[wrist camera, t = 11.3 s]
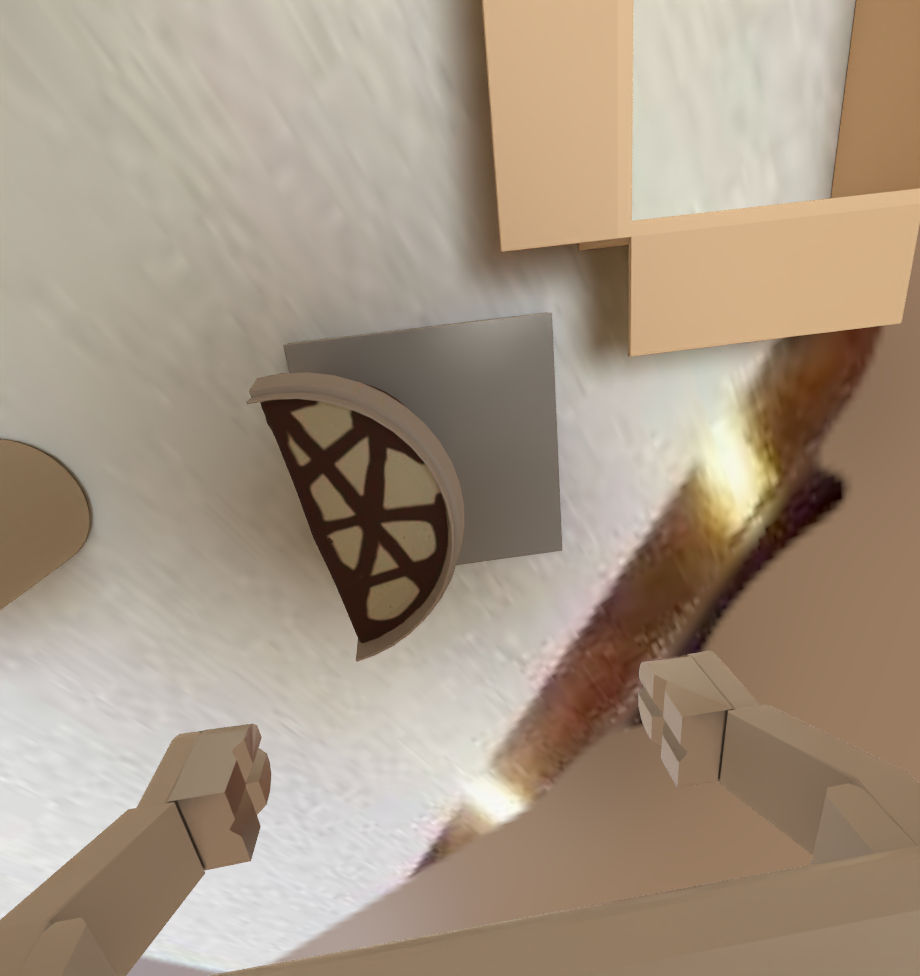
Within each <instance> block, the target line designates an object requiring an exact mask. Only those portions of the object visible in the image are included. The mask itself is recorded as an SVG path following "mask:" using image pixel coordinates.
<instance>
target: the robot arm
mask: <svg viewBox="0 0 920 976" xmlns="http://www.w3.org/2000/svg"><path fill="white" fill-rule="evenodd" d="M639 678H640V680H641V681H642V683H643V685H644V688H643V689H642V690H641V692H640V693H639V710H640V715H641V719H642V722H643V725H644V727H645V730H646V732H647V734H648V736H649V737H650V739H651V741H653V742H655V743H656V744H658V745H659V746H661V747H662V754H661V759H662V761H663V763H664V765H665V766H666V768H667V770H668V771H669V773H670V775H671V777H672V779H673V781H674V782H675V784H676V786H677V787H678V788H679V787H685V786H692V785H700V784H707V783H714V782H720V785H722V786H723V787H724V788H726V789H727V790H728V791H729V792H731V793H732V794H734V795H735V796H736V797H737V798H738V799H740V800H741V801H743V802H744V803H745V804H746V805H748V806H749V807H751V808H752V809H753V810H754V811H756V812H757V813H758V814H759V815H761V816H762V817H763V818H765V819H766V820H767V821H769V822H770V823H771V824H773V825H774V826H775V827H776V828H778V829H779V830H781V831H782V832H783V833H784V834H786V835H787V836H788V837H790V838H791V839H792V840H793V841H795V842H796V843H797V844H799V845H800V846H801V847H803V848H804V849H805V850H807V851H808V852H809V853H811V854H812V860H811V864H810V865H808V866H802V867H797V868H792V869H787V870H781V871H776V872H770V873H764V874H759V875H753V876H748V877H742V878H737V879H732V880H726V881H721V882H715V883H710V884H705V885H699V886H693V887H688V888H683V889H678V890H672V891H667V892H661V893H656V894H651V895H645V896H639V897H634V898H629V899H624V900H618V901H612V902H607V903H602V904H597V905H591V906H585V907H580V908H575V909H570V910H564V911H559V912H553V913H548V914H542V915H538V916H532V917H526V918H521V919H515V920H510V921H505V922H499V923H493V924H488V925H482V926H477V927H471V928H466V929H461V930H455V931H449V932H444V933H438V934H433V935H427V936H422V937H417V938H412V939H405V940H400V941H394V942H389V943H384V944H378V945H372V946H367V947H362V948H356V949H351V950H346V951H340V952H335V953H330V954H324V955H318V956H313V957H307V958H302V959H297V960H291V961H285V962H280V963H274V964H269V965H263V966H258V967H253V968H247V969H242V970H236V971H231V972H225V973H220V974H214V975H209V976H920V783H919V782H918V781H917V780H915V779H914V778H913V777H912V776H911V775H910V774H909V773H908V772H907V771H905V770H903V769H901V768H898V767H897V766H894V765H892V764H890V763H888V762H886V761H884V760H882V759H880V758H878V757H876V756H874V755H872V754H870V753H867V752H865V751H863V750H861V749H859V748H857V747H855V746H853V745H851V744H849V743H846V742H845V741H842V740H840V739H838V738H836V737H834V736H832V735H830V734H828V733H826V732H824V731H822V730H820V729H818V728H816V727H813V726H811V725H809V724H807V723H805V722H803V721H801V720H799V719H797V718H795V717H793V716H791V715H788V714H786V713H784V712H782V711H780V710H778V709H776V708H774V707H771V706H770V705H762V706H761V705H760V704H759V703H758V702H757V701H756V699H755V698H754V697H753V696H752V695H751V694H750V693H749V692H748V690H747V689H746V688H745V687H744V686H743V685H742V684H741V682H740V681H739V680H738V679H737V678H736V677H735V676H734V675H733V673H732V672H731V671H730V670H729V669H728V668H727V667H726V665H725V664H724V663H723V662H722V661H721V660H720V659H719V657H718V656H717V655H716V654H715V653H713V652H711V651H705V652H699V653H694V654H688V655H683V656H677V657H671V658H665V659H659V660H653V661H647V662H642V663H641V666H640V670H639ZM261 738H262V737H261V734H260V732H259V729H258V727H257V725H255V724H247V725H239V726H232V727H224V728H217V729H209V730H204V731H199V732H191V733H183V734H179V735H178V736H176V737H175V738H174V739H173V740H172V742H171V744H170V746H169V747H168V749H167V751H166V753H165V755H164V757H163V759H162V761H161V763H160V764H159V766H158V768H157V770H156V772H155V774H154V776H153V778H152V780H151V781H150V783H149V785H148V787H147V789H146V791H145V793H144V795H143V797H142V798H141V800H140V802H139V804H138V806H137V808H134V809H129V810H127V811H126V812H125V813H124V814H123V815H121V816H120V817H119V818H118V819H117V820H116V821H115V822H113V823H112V824H111V825H110V826H109V827H108V828H106V829H105V830H104V831H103V832H102V833H101V834H99V835H98V836H97V837H96V838H95V839H94V840H92V841H91V842H90V843H89V844H88V845H87V846H86V847H84V848H83V849H82V850H81V851H80V852H79V853H77V854H76V855H75V856H74V857H73V858H72V859H70V860H69V861H68V862H67V863H66V864H65V865H64V866H62V867H61V868H60V869H59V870H58V871H57V872H55V873H54V874H53V875H52V876H51V877H50V878H48V879H47V880H46V881H45V882H44V883H43V884H41V885H40V886H39V887H38V888H37V889H36V890H35V891H33V892H32V893H31V894H30V895H29V896H28V897H26V898H25V899H24V900H23V901H22V902H21V903H19V904H18V905H17V906H16V907H15V908H14V909H13V910H11V911H10V912H9V913H8V914H7V915H6V916H4V917H3V918H2V919H1V920H0V976H126V975H127V974H128V972H129V971H130V970H131V968H132V967H133V966H134V965H135V963H136V962H137V961H138V960H139V958H140V957H141V956H142V954H143V953H144V952H145V950H146V949H147V948H148V947H149V945H150V944H151V943H152V941H153V940H154V939H155V937H156V936H157V935H158V934H159V932H160V931H161V930H162V928H163V927H164V926H165V924H166V923H167V922H168V921H169V919H170V918H171V917H172V915H173V914H174V913H175V911H176V910H177V909H178V908H179V906H180V905H181V904H182V902H183V901H184V900H185V899H186V897H187V896H188V895H189V893H190V892H191V891H192V889H193V888H194V887H195V886H196V884H197V883H198V882H199V880H200V879H201V878H202V876H203V875H204V874H205V871H204V870H209V869H214V868H219V867H224V866H229V865H234V864H238V863H243V862H248V861H251V859H252V855H253V852H254V848H255V844H256V841H257V837H258V834H259V830H260V823H259V820H258V817H257V814H258V813H259V812H260V811H261V810H262V809H263V808H264V807H265V805H266V804H267V800H268V797H269V793H270V784H271V769H270V762H269V759H268V756H267V753H265V752H264V751H262V750H261V749H259V748H258V747H259V744H260V741H261Z"/></svg>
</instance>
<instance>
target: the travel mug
mask: <svg viewBox="0 0 920 976" xmlns="http://www.w3.org/2000/svg"><path fill="white" fill-rule="evenodd" d="M89 520H90V518H89V510H88V506H87V502H86V499H85V497H84V495H83V493H82V491H81V489H80V487H79V486H78V484H77V483H76V481H75V480H74V479H73V477H72V476H71V475H70V474H69V473H68V472H67V471H66V470H65V469H64V468H63V467H62V466H61V465H60V464H59V463H57V462H56V461H55V460H54V459H52V458H51V457H49V456H48V455H46V454H44V453H43V452H41V451H39V450H37V449H35V448H32V447H30V446H27V445H25V444H21V443H18V442H14V441H9V440H2V439H0V610H1V609H2V608H4V607H5V606H6V605H8V604H9V603H10V602H12V601H13V600H14V599H16V598H17V597H19V596H20V595H21V594H23V593H24V592H25V591H27V590H28V589H29V588H31V587H32V586H33V585H35V584H36V583H37V582H39V581H40V580H41V579H43V578H44V577H46V576H47V575H48V574H50V573H51V572H52V571H54V570H55V569H56V568H58V567H59V566H60V565H62V564H63V563H64V562H66V561H67V560H69V559H70V558H71V557H72V556H74V555H75V554H76V553H77V552H78V551H79V549H80V548H81V547H82V545H83V543H84V542H85V540H86V537H87V534H88V530H89Z"/></svg>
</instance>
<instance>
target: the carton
mask: <svg viewBox="0 0 920 976" xmlns="http://www.w3.org/2000/svg"><path fill="white" fill-rule="evenodd" d="M482 9H483V22H484V36H485V49H486V63H487V76H488V90H489V103H490V117H491V130H492V143H493V157H494V170H495V184H496V197H497V211H498V224H499V238H500V251H501V252H506V251H515V250H524V249H533V248H541V247H550V246H559V245H568V244H576V243H579V250H587V249H596V248H605V247H614V246H622V245H629V279H628V356H638V355H646V354H655V353H663V352H671V351H679V350H687V349H695V348H703V347H711V346H719V345H728V344H736V343H744V342H752V341H760V340H768V339H776V338H784V337H792V336H801V335H809V334H817V333H825V332H833V331H841V330H849V329H857V328H865V327H873V326H882V325H890V324H897V323H901V321H902V316H903V310H904V305H905V300H906V294H907V289H908V284H909V278H910V273H911V267H912V262H913V257H914V251H915V246H916V241H917V235H918V230H919V225H920V0H856V8H855V16H854V23H853V31H852V39H851V47H850V54H849V62H848V70H847V78H846V85H845V93H844V101H843V109H842V116H841V124H840V132H839V140H838V147H837V155H836V163H835V170H834V178H833V186H832V194H831V198H830V199H821V200H812V201H804V202H795V203H786V204H777V205H768V206H759V207H751V208H742V209H733V210H724V211H715V212H706V213H698V214H689V215H680V216H671V217H662V218H653V219H645V220H636V221H632V111H633V0H482Z"/></svg>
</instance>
